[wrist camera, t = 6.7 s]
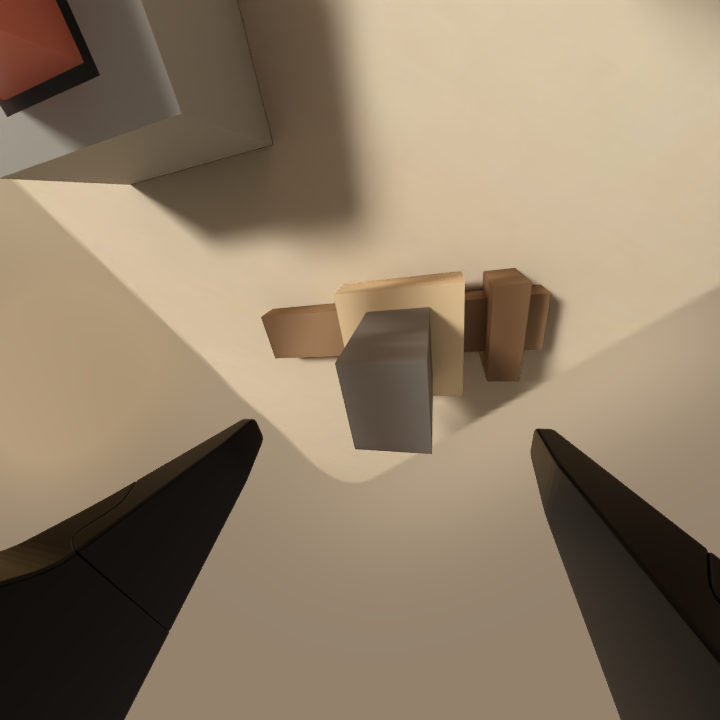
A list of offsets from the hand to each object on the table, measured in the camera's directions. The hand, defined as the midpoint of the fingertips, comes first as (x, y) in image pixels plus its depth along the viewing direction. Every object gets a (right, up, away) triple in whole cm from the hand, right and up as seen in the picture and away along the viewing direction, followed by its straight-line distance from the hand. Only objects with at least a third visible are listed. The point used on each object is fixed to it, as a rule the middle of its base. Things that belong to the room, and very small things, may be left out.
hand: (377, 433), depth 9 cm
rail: (+1, +5, +8) cm, 10 cm away
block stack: (+2, +4, +7) cm, 8 cm away
